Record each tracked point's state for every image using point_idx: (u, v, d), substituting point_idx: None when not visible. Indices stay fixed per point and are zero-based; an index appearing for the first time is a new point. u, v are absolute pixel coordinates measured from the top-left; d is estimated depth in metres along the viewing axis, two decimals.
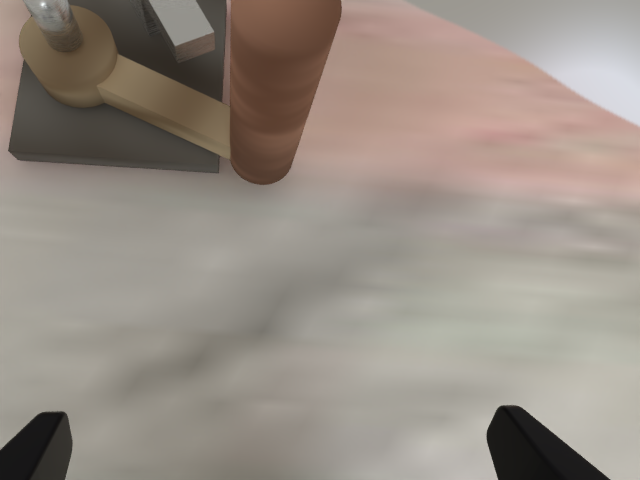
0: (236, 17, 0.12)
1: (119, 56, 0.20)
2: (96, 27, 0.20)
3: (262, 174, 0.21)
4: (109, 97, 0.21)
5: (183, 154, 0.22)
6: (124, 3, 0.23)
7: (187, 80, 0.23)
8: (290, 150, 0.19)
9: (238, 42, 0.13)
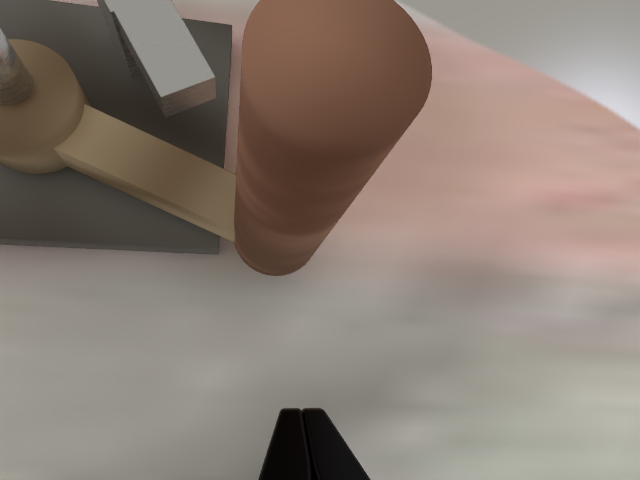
0: (251, 87, 0.07)
1: (86, 107, 0.15)
2: (54, 70, 0.14)
3: (277, 267, 0.15)
4: (72, 161, 0.15)
5: (172, 234, 0.16)
6: (100, 34, 0.18)
7: (180, 134, 0.17)
8: (319, 243, 0.14)
9: (253, 124, 0.08)
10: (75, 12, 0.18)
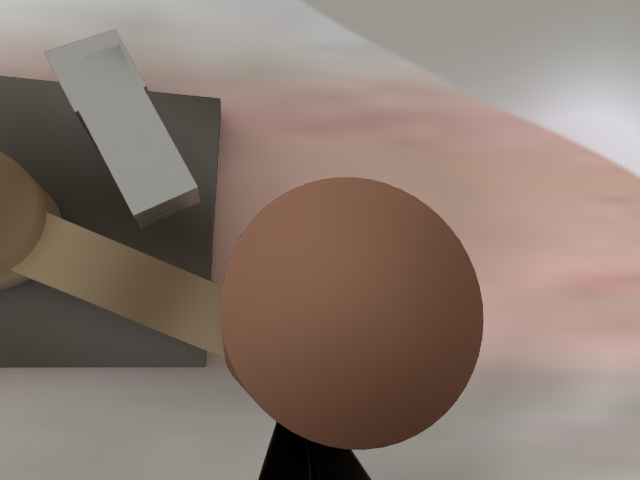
0: (235, 369, 0.05)
1: (49, 216, 0.13)
2: (9, 179, 0.12)
3: None
4: (34, 279, 0.13)
5: (151, 353, 0.14)
6: (70, 115, 0.16)
7: (161, 231, 0.15)
8: None
9: (240, 379, 0.06)
10: (41, 90, 0.16)
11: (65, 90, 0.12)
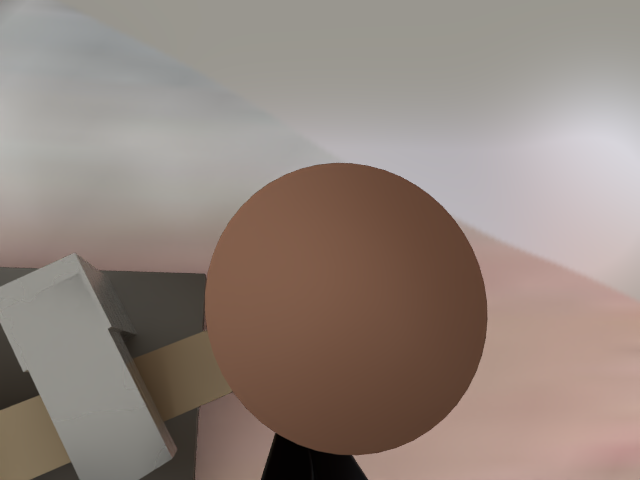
0: (308, 447, 0.04)
1: None
2: None
3: None
4: None
5: None
6: None
7: None
8: None
9: None
10: None
11: (12, 342, 0.10)
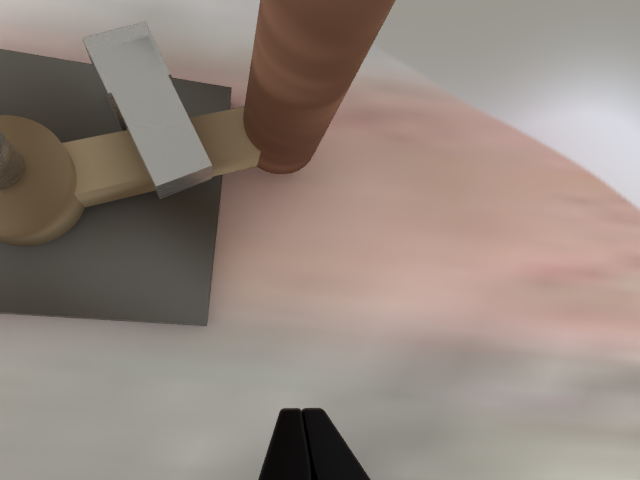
0: None
1: (65, 144, 0.15)
2: (18, 129, 0.14)
3: (309, 154, 0.17)
4: (92, 196, 0.15)
5: (160, 309, 0.16)
6: (96, 94, 0.18)
7: (173, 203, 0.17)
8: None
9: (323, 3, 0.09)
10: (71, 70, 0.18)
11: (100, 73, 0.14)
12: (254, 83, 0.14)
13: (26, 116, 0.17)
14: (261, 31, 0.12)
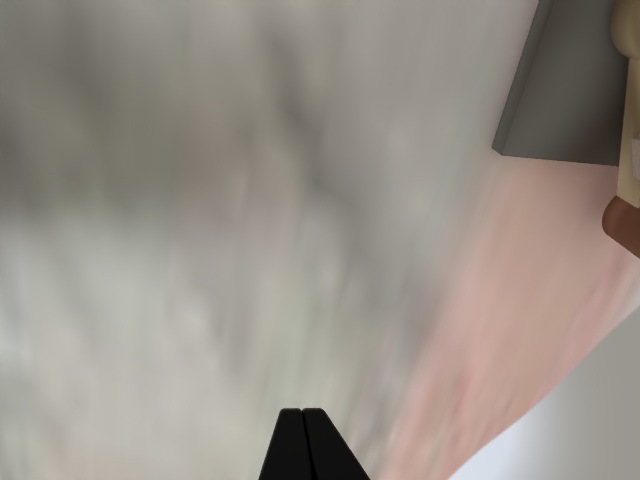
0: None
1: None
2: None
3: (622, 243, 0.21)
4: None
5: (523, 119, 0.19)
6: None
7: (604, 127, 0.20)
8: None
9: None
10: None
11: None
12: None
13: None
14: None
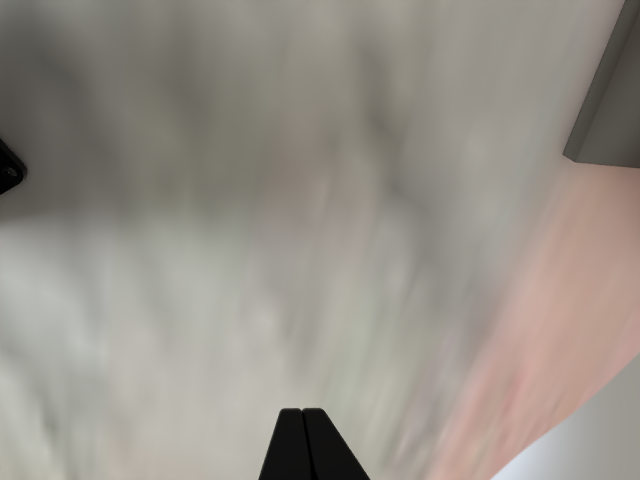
0: None
1: None
2: None
3: None
4: None
5: (598, 128, 0.20)
6: None
7: None
8: None
9: None
10: None
11: None
12: None
13: None
14: None
